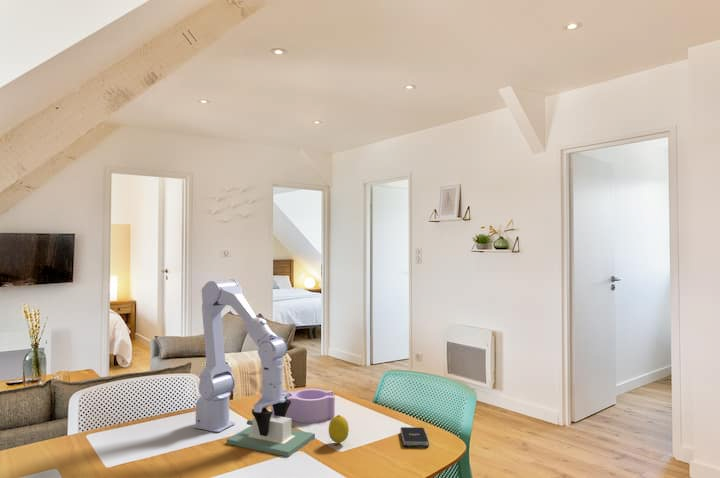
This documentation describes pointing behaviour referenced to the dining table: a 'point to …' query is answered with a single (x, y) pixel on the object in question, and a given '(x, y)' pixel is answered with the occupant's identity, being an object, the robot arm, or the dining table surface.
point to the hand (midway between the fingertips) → (271, 430)
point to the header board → (271, 442)
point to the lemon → (338, 429)
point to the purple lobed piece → (310, 405)
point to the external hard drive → (414, 437)
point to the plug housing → (274, 428)
